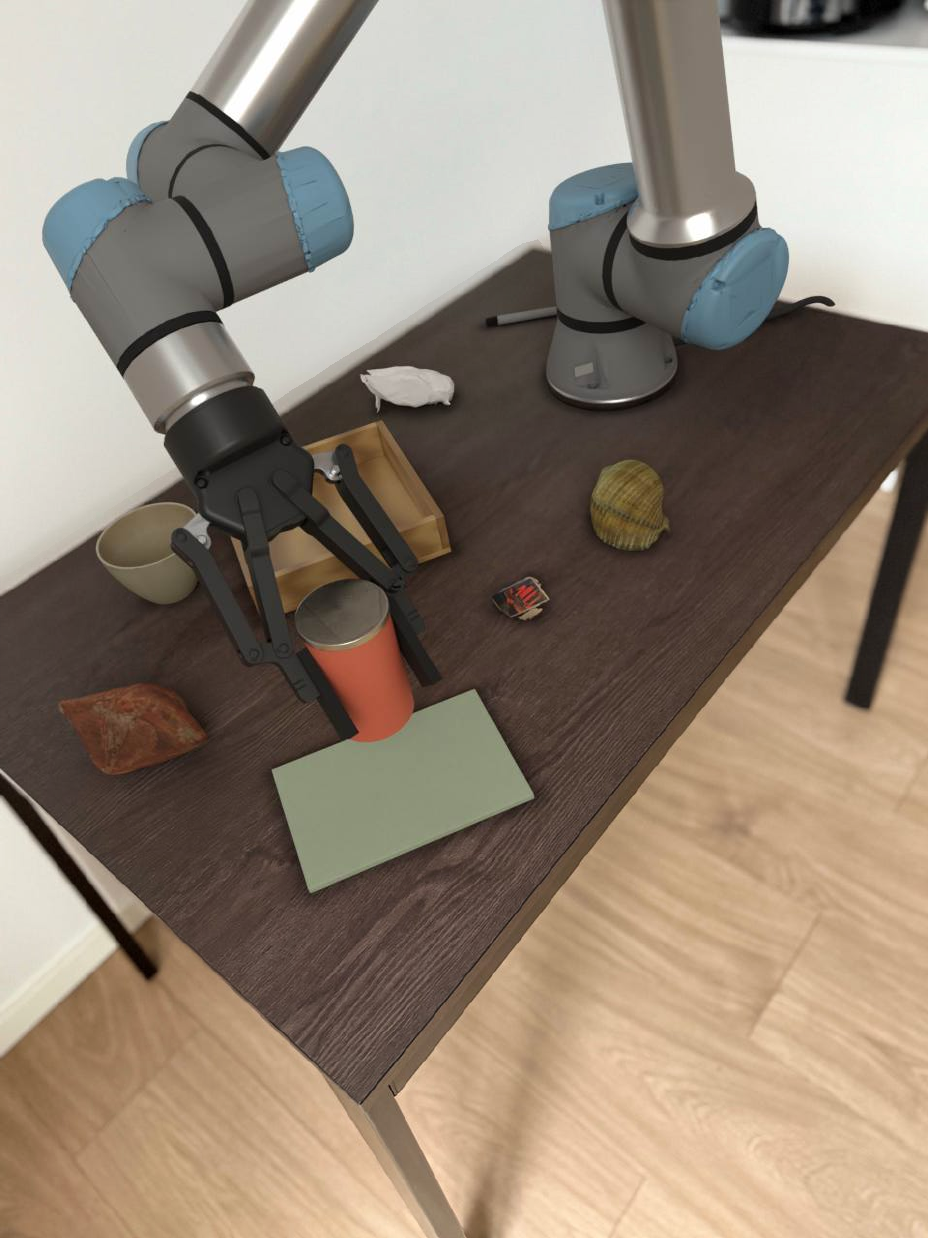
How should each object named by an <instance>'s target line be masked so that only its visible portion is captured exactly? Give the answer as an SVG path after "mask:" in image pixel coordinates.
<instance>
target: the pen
mask: <svg viewBox="0 0 928 1238" xmlns="http://www.w3.org/2000/svg"><path fill="white" fill-rule="evenodd" d="M554 316H557V307H556V306H549V307H542V308H536V309H529V310H524V311H523V310H522V311H518V312H511V313H506V314H505V313H504V314H500V315H494V316H491V317H486V318H485V324H486V326H487V327H494V326H502V325H508V324H514V323H519V322H525V321H532V320H536V319H543V318H547V317H549V318H550V317H554Z"/></svg>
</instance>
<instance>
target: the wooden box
mask: <svg viewBox="0 0 928 1238" xmlns="http://www.w3.org/2000/svg"><path fill="white" fill-rule="evenodd" d="M340 444H346V445H348V446H349V447H351V449H352V452H353V455H354V459H355V462H356V466H357V469H358V473H359V475H360V477H361V478H362V479H363V481H364V482H365V484H366V485H367V487H368V488H369V490H370V491H371V492H372V494H373V495H374V497H375V498H376V500H377V501H378V502H379V504H380V505H381V507H382V508H383V510H384V511H385V513H386V514H387V515H388V517H389V518H390V520H391V521H392V523H393V524H394V526H395V527H396V528H397V530H398V531H399V533H400V534H401V536H402V537H403V539H404V540H405V541H406V543H407V544H408V546H409V547H410V549H411V550H412V552H413V553H414V554H415V556H416V557H417V559H418V565H419V564H422V563H425V562H427V561H430V560H433V559H437V558H438V557H441V556H444V555H446V554H449V553H452V548H451V544H450V543H451V542H450V537H449V533H448V529H447V525H446V523H447V522H446V520H445V515H444V514H443V512H442V510H441V509H440V507H439V506H438V505H437V502H436V501H435V500H434V498H433V496H432V495H431V493H430V492H429V490H428V489H427V488H426V486H425V484H424V483H423V481H422V480H421V478H420V477H419V475H418V474H417V472H416V471H415V469H414V467H413V466H412V464H411V463H410V461H409V460H408V458H407V456H406V454H404V452H403V450H402V449H401V447H400V446H399V444H398V442H397V441H396V440H395V438H394V437H393V435H392V433H391V431H390V430H389V429H388V428H387V426H386V424H385V423H384V421H383V420H382V419H381V420H378V421H375V422H372V423H369V424H366V425H363V426H360V427H357V428H354V429H350V430H348V431H345V432H342V433H339V434H336V435H333V436H331V437H327V438H325V439H322V440H318V441H315V442H313V443H309V444H308V445H303V446H301V447H302V448H304V449H305V450H307V451H308V452H309V453H310V454H311V455H313V454H318V453H324V452H329V451H334V450H335V449H336V447H337V446H338V445H340ZM312 496H313V497H314V498H315V499H317V500H318V501H319V502H320V503H321V504H322V505H323V506H324V507H325V508H326V509H327V510H328V511H329V513H330V515H331V516H332V517H333V518H334V519H335V520H336V521H337V522H339V523H340V524H341V525H342V526H343V527H344V528H345V529H346V530H347V531H348V532H350V533H351V534H352V535H353V536H354V537H355V538H356V539H357V540H358V541H360V542H361V543H362V544H363V545H364V546H365V547H366V548H367V549H368V550H369V551H371V552H372V553H373V554H374V555H375V556H376V557H377V558H378V559H379V560H381V561H382V562H383V563H384V564H385V565H386V566H387V567H388V568H389V569H390V567H389V566H388V564H387V563H386V561H385V560H384V559H383V557H382V556H381V554H380V553H379V551H378V550H377V548H376V547H375V546H374V544H373V543H372V541H371V540H370V538H369V537H368V536H367V534H366V533H365V531H364V530H363V528H362V527H361V525H360V524H359V523H358V521H357V520H356V518H355V517H354V515H353V514H352V513H351V511H350V510H349V508H348V507H347V505H346V504H345V503H344V501H343V500H342V498H341V497H340V495H339V493H338V491H337V489H336V487H335V484H329V483H327V482H326V481H325V479H324V478H323V476H322V475H321V474H319V473H316V472H314V481H313V493H312ZM229 537H230V540H231V543H232V546H233V548H234V552H235V554H236V557H237V560H238V563H239V565H240V569H241V572H242V574H243V577H244V580H245V583H246V585H247V589H248V591H249V594H250V596H251V599H252V600H253V603H254V605H255V607H256V610H257V613H258V615H259V616H260V614H259V610H258V605H257V601H256V597H255V593H254V589H253V585H252V581H251V577H250V573H249V569H248V566H247V564H246V561H245V558H244V554H243V550H242V546H241V542H240V540H238V539H235V538H233V537H231V536H229ZM269 548H270V557H271V561H272V565H273V569H274V573H275V577H276V581H277V585H278V589H279V593H280V597H281V601H282V605H283V609H284V613H285V614H287V613H290V612H293V611H295V610H296V611H297V608H298V606H299V605H300V603H301V602H302V601H303V599H304V598H305V597H306V596H307V595H308V594H310V593H311V592H312V591H314V590H315V589H317V588H319V587H321V586H322V585H325V584H327V583H330V582H333V581H337V580H342V579H360V578H359V577H358V576H357V575H355V574H354V573H353V572H352V571H351V570H350V569H349V568H348V567H347V566H345V565H344V564H343V563H342V562H341V561H340V560H339V559H338V558H336V557H335V556H334V555H333V554H332V553H331V552H330V551H329V550H328V549H326V548H325V547H324V546H323V545H322V544H321V543H320V542H319V541H318V540H316V539H315V538H314V537H313V536H311V535H309V534H307V533H306V532H304V531H303V530H302V529H301V528H300V527H299V526H298V527H296V528H295V529H293V530H290V531H286V532H281V533H279V534H278V535H277V536H276V537H275V538H274V539H273V540H272V541H271V542H269Z"/></svg>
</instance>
